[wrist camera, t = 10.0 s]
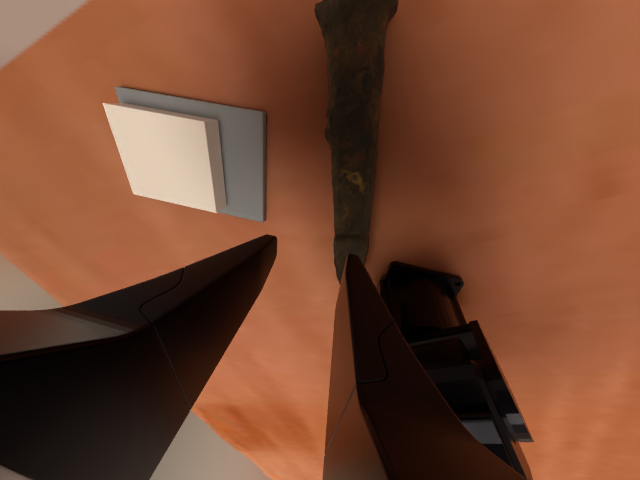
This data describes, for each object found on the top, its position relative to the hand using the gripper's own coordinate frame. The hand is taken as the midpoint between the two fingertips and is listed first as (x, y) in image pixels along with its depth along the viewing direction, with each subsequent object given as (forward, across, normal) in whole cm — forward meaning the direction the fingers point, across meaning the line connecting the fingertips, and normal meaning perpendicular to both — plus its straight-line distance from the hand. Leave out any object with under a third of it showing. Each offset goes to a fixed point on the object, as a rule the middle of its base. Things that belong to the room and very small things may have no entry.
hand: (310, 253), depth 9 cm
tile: (+9, +10, +1) cm, 14 cm away
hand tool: (+11, -1, 0) cm, 11 cm away
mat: (+11, +12, +1) cm, 16 cm away
